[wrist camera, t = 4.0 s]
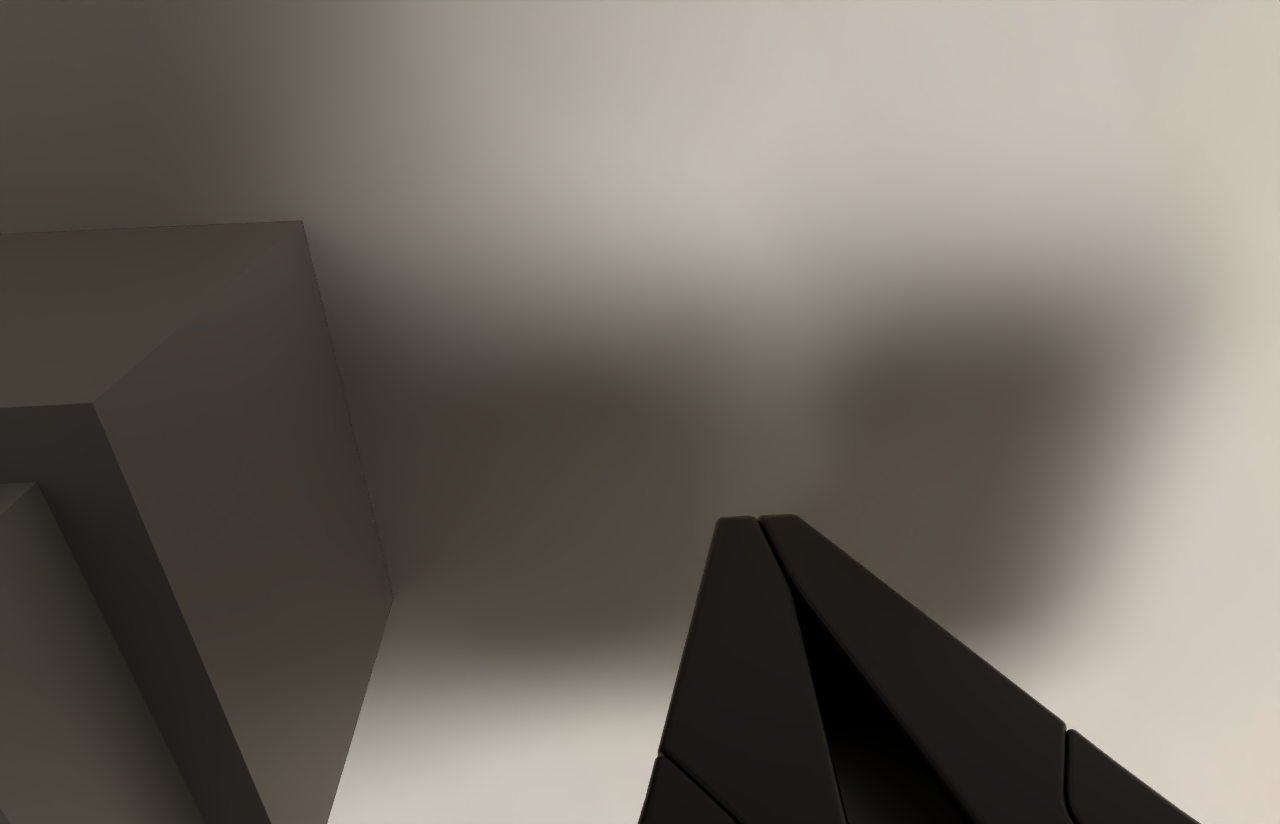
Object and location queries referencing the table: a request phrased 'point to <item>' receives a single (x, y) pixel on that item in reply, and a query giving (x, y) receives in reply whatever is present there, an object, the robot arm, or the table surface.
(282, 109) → the table surface
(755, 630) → the robot arm
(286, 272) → the two tier gray step
